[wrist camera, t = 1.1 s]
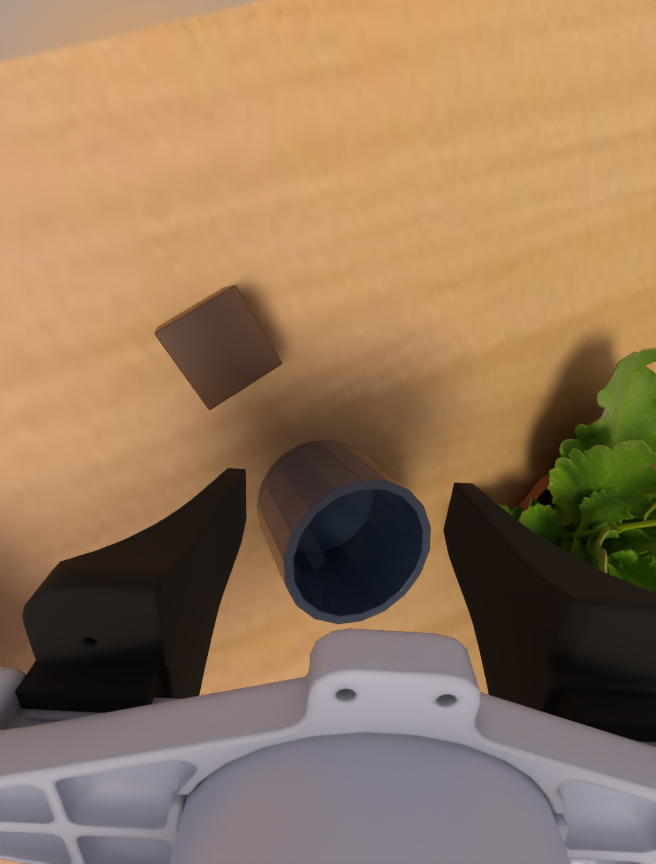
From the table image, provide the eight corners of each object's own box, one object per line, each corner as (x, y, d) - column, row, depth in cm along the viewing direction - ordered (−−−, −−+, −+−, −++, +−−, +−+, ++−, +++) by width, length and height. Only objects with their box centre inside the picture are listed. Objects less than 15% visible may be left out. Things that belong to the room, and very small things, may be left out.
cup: (241, 549, 28) (264, 621, 22) (277, 427, 27) (312, 465, 20) (353, 561, 31) (401, 626, 25) (390, 452, 30) (451, 493, 23)
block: (202, 394, 24) (209, 410, 21) (155, 328, 23) (153, 333, 19) (265, 354, 25) (283, 363, 21) (224, 287, 23) (235, 284, 20)
